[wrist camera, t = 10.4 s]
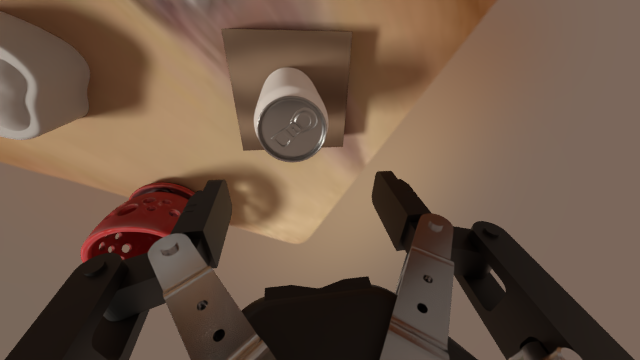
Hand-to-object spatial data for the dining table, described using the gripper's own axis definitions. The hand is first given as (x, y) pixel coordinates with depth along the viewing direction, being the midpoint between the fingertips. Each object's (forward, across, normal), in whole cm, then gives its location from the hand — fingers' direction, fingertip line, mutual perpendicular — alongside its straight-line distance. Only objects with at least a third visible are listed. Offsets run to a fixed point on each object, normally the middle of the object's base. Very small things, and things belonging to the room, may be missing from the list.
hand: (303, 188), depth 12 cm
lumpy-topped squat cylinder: (+24, +31, -3) cm, 39 cm away
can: (+20, 0, 0) cm, 20 cm away
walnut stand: (+24, 0, 0) cm, 24 cm away
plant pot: (+24, +21, +19) cm, 37 cm away
